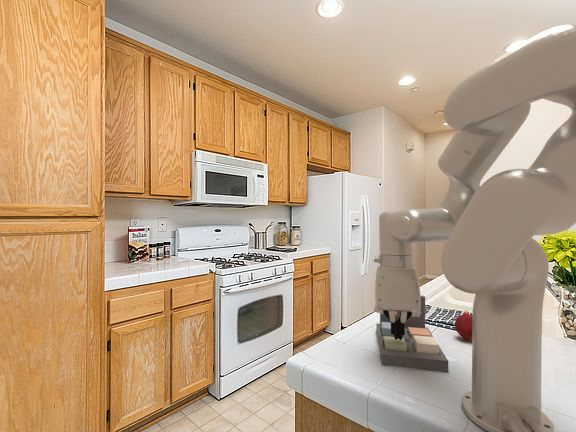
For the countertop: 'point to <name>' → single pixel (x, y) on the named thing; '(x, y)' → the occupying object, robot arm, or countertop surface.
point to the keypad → (410, 347)
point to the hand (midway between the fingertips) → (397, 337)
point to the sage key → (394, 344)
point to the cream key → (425, 344)
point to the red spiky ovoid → (464, 325)
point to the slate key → (386, 329)
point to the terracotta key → (418, 332)
